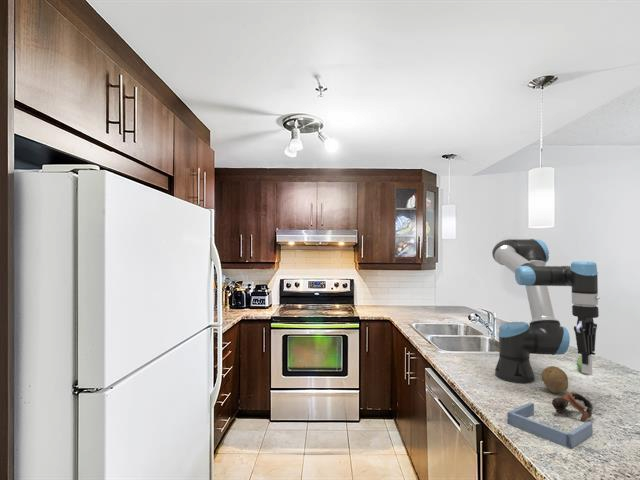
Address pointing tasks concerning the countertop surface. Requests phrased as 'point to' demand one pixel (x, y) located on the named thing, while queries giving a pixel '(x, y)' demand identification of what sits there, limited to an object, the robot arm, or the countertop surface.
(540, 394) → the countertop surface
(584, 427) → the blue-grey u-shaped frame
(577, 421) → the countertop surface
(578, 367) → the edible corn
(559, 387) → the natural sponge
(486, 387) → the countertop surface
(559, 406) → the brown curved ring piece
